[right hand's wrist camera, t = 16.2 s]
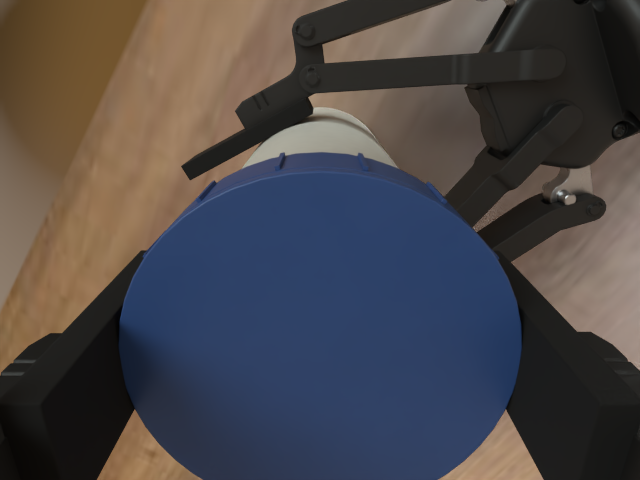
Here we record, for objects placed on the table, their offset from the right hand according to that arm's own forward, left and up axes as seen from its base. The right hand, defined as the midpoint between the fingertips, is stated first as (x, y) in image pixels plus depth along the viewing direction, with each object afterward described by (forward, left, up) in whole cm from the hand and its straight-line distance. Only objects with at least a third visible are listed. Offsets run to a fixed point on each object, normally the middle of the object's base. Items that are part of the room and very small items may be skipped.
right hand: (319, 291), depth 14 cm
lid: (0, 0, +3) cm, 3 cm away
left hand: (-4, +2, -10) cm, 11 cm away
